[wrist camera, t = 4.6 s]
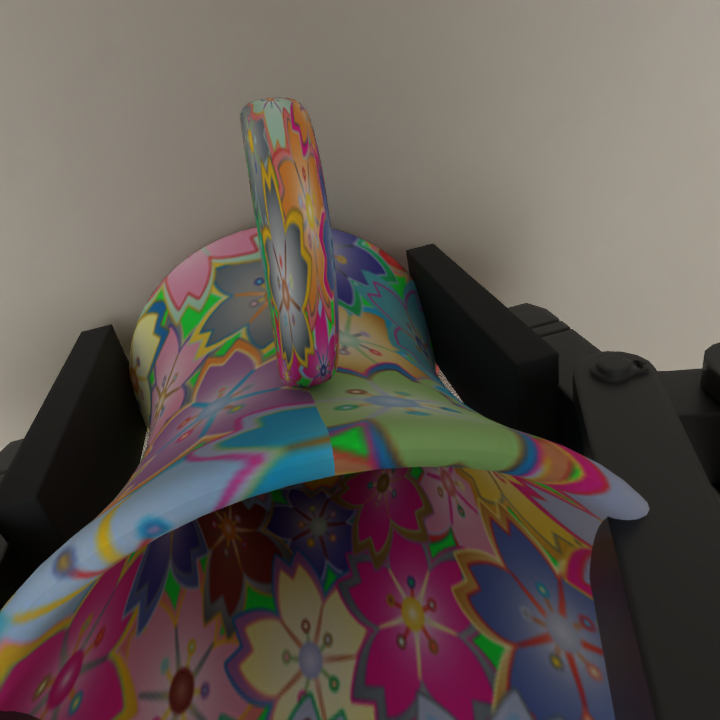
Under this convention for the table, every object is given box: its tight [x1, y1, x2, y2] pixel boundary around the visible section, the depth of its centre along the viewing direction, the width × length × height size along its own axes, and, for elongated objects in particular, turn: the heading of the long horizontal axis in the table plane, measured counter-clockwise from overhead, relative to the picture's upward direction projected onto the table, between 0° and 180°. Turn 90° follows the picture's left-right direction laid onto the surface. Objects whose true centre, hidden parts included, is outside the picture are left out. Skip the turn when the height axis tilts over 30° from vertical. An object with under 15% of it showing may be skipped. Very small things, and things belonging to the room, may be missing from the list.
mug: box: [0, 98, 649, 720], centre depth 11 cm, size 12×9×11 cm
